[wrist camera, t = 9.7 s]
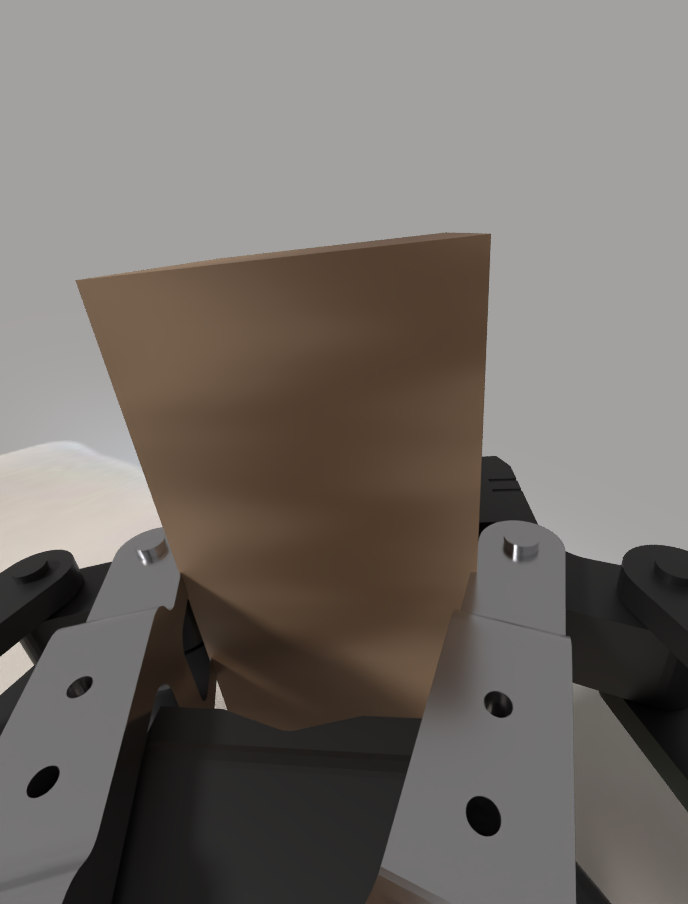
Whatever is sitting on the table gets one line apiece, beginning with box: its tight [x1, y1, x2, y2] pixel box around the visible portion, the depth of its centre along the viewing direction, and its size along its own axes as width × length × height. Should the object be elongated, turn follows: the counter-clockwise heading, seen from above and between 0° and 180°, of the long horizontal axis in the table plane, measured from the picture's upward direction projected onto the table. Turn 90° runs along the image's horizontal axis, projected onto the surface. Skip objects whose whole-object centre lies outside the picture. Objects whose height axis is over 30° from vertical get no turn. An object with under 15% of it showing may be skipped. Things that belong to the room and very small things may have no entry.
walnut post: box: [76, 233, 491, 731], centre depth 9 cm, size 4×4×12 cm
